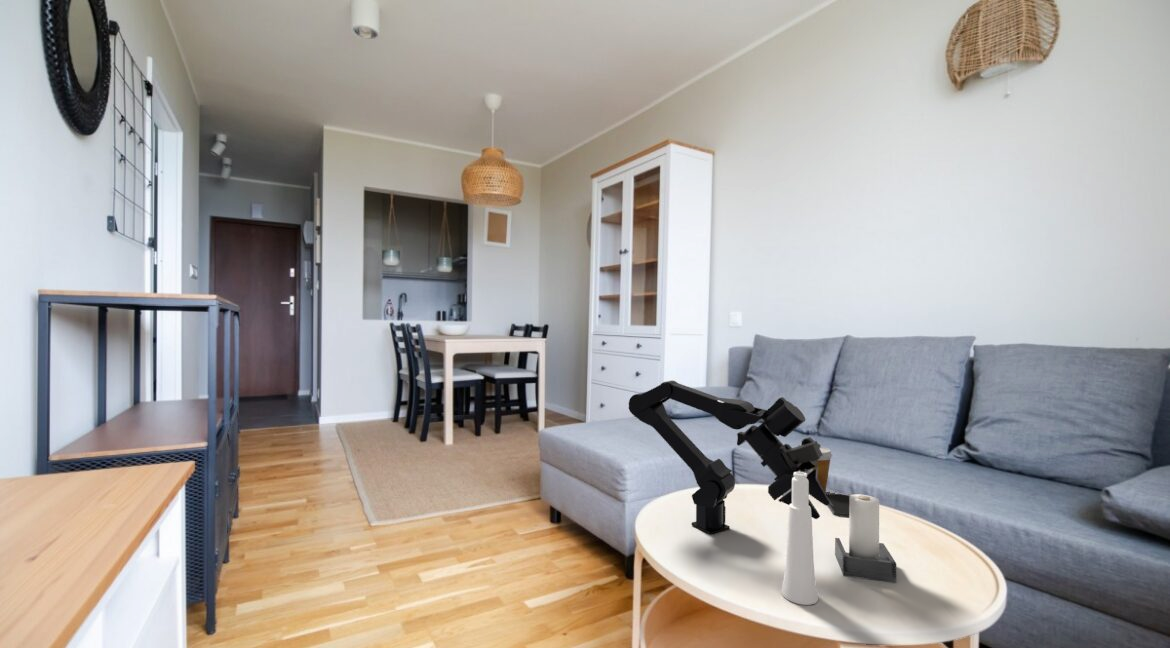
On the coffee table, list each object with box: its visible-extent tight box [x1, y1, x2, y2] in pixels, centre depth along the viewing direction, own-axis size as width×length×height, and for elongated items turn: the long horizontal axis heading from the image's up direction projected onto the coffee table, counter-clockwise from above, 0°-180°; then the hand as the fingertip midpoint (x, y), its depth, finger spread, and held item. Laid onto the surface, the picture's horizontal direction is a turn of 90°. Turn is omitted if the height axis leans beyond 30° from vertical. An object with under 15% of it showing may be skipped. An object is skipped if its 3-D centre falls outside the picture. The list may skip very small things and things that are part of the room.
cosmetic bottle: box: [781, 472, 819, 606], centre depth 90 cm, size 6×6×22 cm
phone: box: [825, 493, 850, 518], centre depth 134 cm, size 8×1×15 cm
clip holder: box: [834, 537, 897, 583], centre depth 101 cm, size 9×9×4 cm
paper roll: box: [848, 493, 880, 560], centre depth 101 cm, size 5×5×13 cm
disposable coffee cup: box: [812, 446, 833, 493], centre depth 147 cm, size 10×10×12 cm
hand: (823, 510), depth 105 cm, fingers open, 9 cm apart
